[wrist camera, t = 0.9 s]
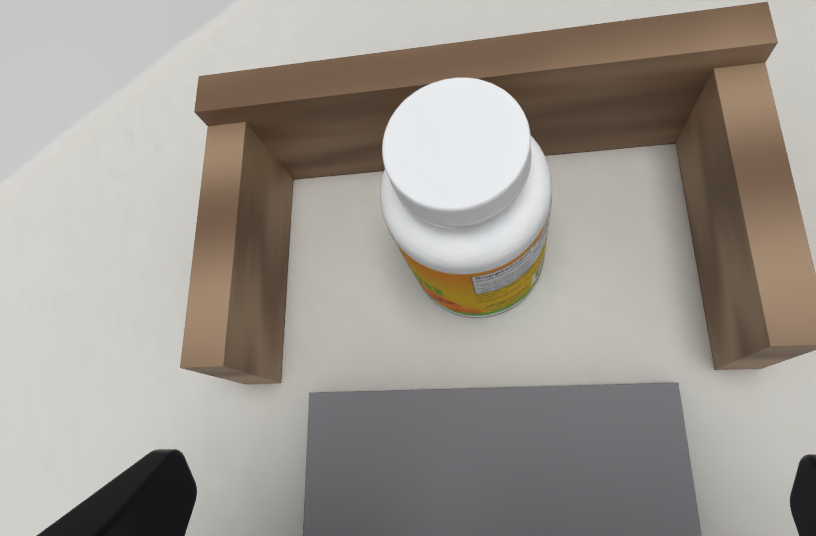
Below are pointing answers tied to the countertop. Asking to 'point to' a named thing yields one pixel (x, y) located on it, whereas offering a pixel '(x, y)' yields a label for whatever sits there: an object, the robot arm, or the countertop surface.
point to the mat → (500, 462)
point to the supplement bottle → (467, 195)
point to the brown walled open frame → (555, 134)
